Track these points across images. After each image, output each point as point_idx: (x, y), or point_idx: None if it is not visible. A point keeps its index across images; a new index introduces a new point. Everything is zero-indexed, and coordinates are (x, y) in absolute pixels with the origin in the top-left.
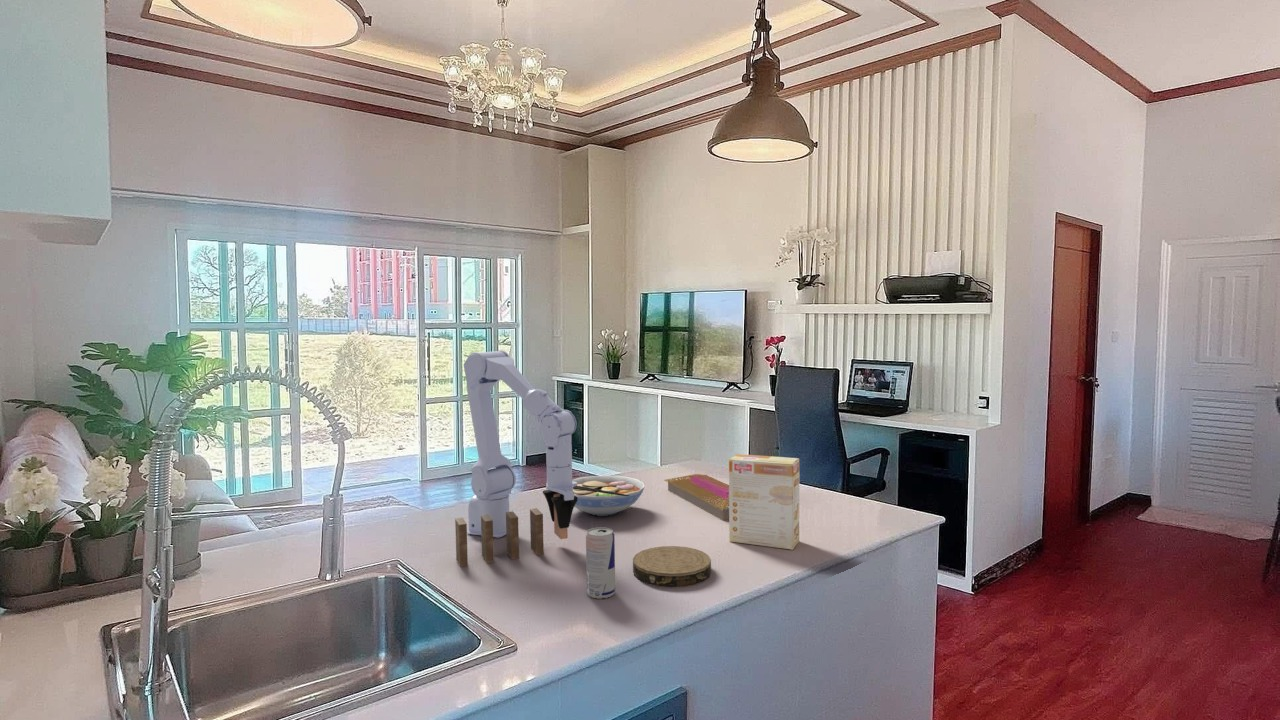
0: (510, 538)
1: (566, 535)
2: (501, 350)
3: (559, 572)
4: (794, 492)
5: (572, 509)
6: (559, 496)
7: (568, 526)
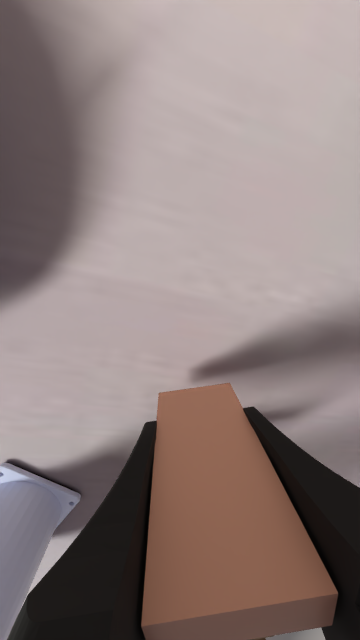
0: None
1: (232, 391)
2: None
3: (349, 398)
4: None
5: (333, 473)
6: (239, 627)
7: (257, 410)
